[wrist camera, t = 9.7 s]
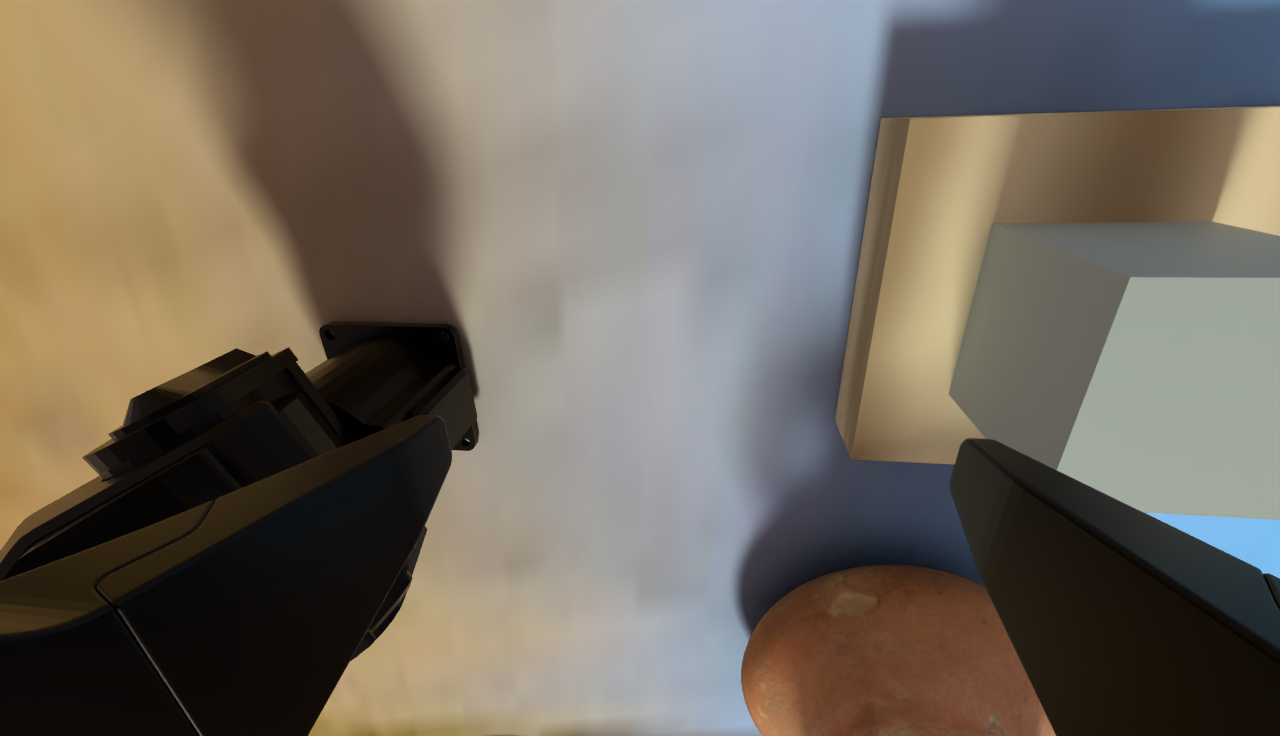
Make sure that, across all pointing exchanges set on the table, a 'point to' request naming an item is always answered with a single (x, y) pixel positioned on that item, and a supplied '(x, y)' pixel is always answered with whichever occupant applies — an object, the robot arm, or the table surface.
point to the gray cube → (1133, 360)
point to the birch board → (1014, 193)
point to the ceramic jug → (888, 660)
